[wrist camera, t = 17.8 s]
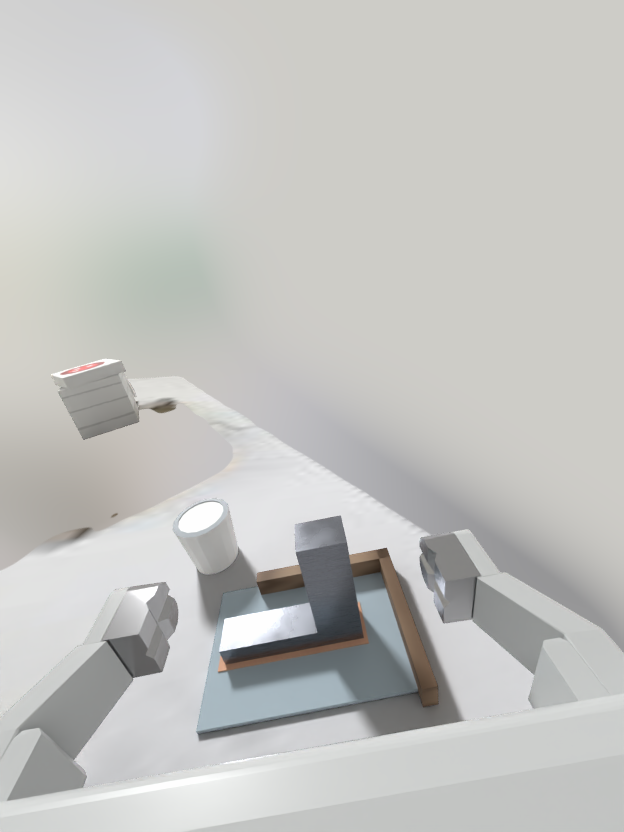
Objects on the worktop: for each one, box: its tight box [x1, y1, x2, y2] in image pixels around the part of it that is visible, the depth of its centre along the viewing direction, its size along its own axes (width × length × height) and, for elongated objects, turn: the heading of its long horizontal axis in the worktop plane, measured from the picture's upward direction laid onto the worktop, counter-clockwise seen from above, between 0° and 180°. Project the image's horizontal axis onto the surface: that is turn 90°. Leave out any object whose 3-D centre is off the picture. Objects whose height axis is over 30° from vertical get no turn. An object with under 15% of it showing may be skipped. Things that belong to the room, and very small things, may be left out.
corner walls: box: [257, 548, 438, 707], centre depth 30 cm, size 15×13×2 cm
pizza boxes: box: [51, 359, 139, 440], centre depth 101 cm, size 19×30×18 cm, turn 28°
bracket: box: [219, 516, 364, 665], centre depth 29 cm, size 13×3×12 cm, turn 94°
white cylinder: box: [173, 498, 239, 575], centre depth 41 cm, size 7×7×7 cm
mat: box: [196, 572, 418, 734], centre depth 31 cm, size 19×12×1 cm, turn 94°
